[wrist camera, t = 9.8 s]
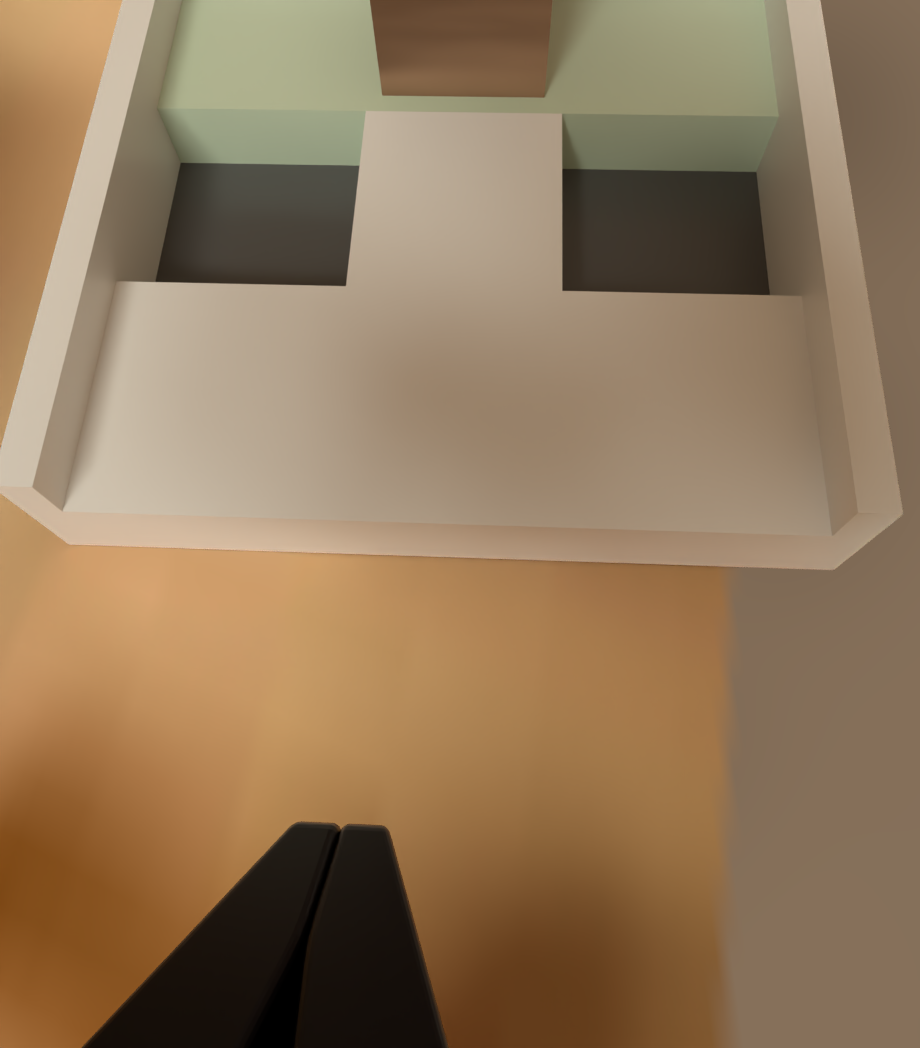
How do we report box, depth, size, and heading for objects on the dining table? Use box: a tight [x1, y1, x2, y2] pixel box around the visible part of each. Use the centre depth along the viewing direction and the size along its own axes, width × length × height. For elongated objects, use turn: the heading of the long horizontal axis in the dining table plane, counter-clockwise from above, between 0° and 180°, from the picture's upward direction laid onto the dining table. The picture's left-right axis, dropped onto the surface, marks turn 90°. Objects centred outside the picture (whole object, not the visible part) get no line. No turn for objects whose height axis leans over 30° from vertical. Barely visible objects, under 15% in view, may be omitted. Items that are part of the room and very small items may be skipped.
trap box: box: [0, 0, 903, 570], centre depth 25 cm, size 21×21×4 cm
